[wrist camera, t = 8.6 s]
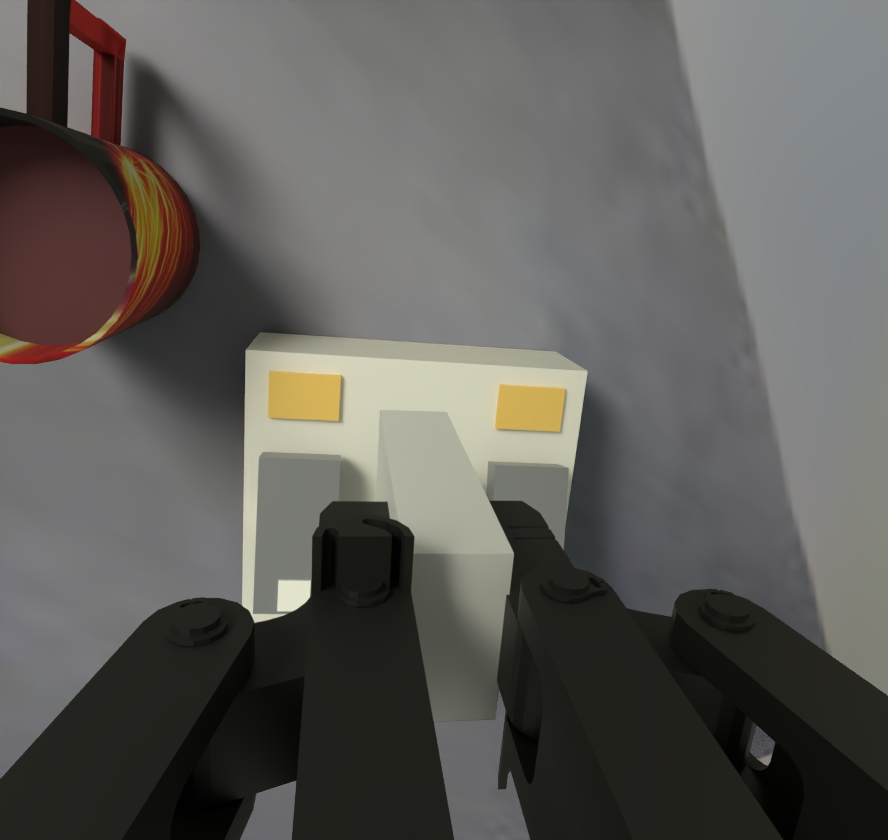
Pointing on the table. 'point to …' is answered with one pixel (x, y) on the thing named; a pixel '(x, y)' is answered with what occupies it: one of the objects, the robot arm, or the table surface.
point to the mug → (81, 205)
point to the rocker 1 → (289, 525)
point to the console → (400, 408)
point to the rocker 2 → (532, 489)
